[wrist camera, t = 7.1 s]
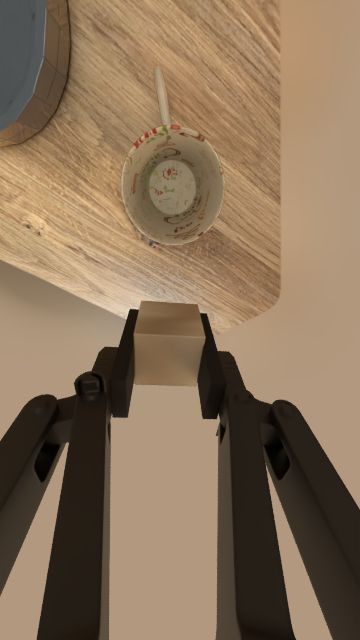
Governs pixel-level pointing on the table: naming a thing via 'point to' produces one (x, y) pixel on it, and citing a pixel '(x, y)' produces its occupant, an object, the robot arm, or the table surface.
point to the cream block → (168, 344)
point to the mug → (172, 180)
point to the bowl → (31, 65)
